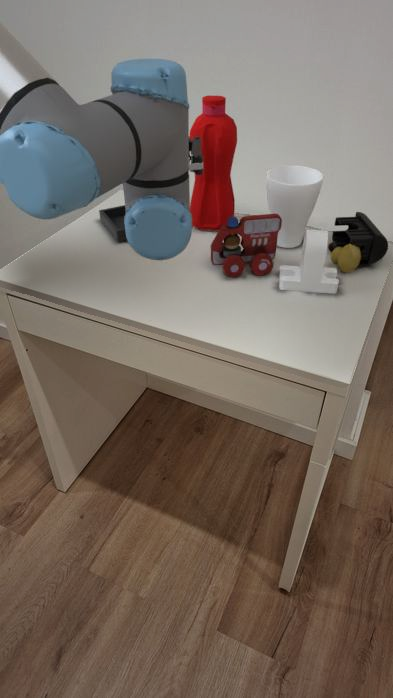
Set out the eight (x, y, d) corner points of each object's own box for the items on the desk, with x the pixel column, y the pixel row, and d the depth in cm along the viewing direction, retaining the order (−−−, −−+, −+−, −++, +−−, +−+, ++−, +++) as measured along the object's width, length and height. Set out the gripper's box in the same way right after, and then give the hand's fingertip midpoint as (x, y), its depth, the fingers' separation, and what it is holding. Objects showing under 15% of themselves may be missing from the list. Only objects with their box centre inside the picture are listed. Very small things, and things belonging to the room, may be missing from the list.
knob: (362, 270, 89) (368, 245, 85) (340, 276, 87) (345, 251, 84) (345, 259, 92) (350, 234, 89) (323, 265, 90) (328, 240, 87)
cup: (312, 255, 93) (324, 187, 84) (258, 251, 94) (264, 183, 86) (312, 231, 101) (323, 166, 92) (262, 227, 102) (268, 163, 94)
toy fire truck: (208, 260, 92) (208, 208, 85) (271, 256, 93) (276, 204, 86) (213, 279, 87) (213, 225, 80) (280, 275, 88) (286, 221, 81)
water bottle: (235, 212, 108) (241, 88, 92) (231, 234, 100) (237, 102, 84) (195, 210, 110) (194, 87, 94) (187, 231, 101) (185, 101, 85)
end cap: (383, 267, 89) (392, 234, 85) (345, 269, 89) (353, 235, 84) (363, 242, 97) (371, 210, 93) (329, 244, 96) (335, 212, 92)
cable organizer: (337, 293, 83) (348, 241, 76) (279, 289, 84) (285, 237, 77) (334, 277, 87) (345, 226, 80) (279, 274, 88) (285, 222, 81)
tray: (118, 242, 98) (116, 231, 96) (100, 220, 105) (99, 210, 104) (169, 230, 102) (168, 219, 100) (148, 210, 109) (147, 200, 108)
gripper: (85, 212, 66) (98, 157, 84) (230, 207, 67) (213, 153, 85) (76, 157, 61) (92, 110, 79) (232, 152, 62) (213, 107, 80)
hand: (155, 132), depth 82 cm, fingers closed on soda can, 7 cm apart
